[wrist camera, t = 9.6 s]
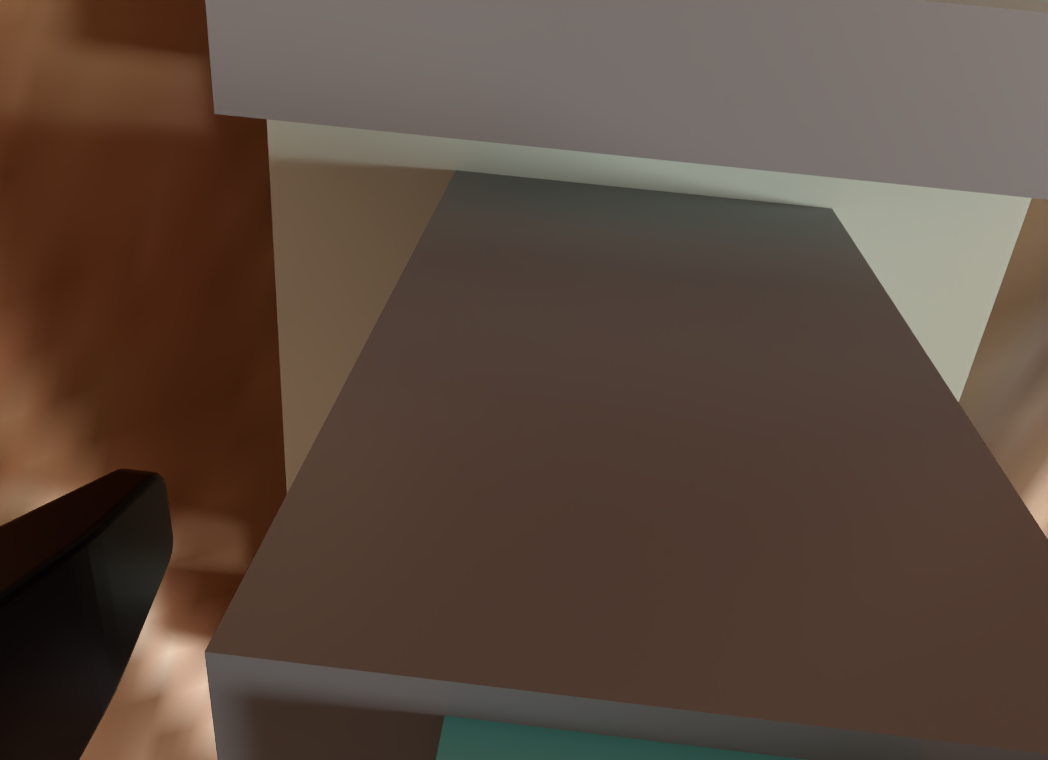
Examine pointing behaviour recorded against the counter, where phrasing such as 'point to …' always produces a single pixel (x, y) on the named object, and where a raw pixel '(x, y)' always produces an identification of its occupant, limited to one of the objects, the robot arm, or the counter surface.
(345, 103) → the cradle
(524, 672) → the plug
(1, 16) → the counter surface
